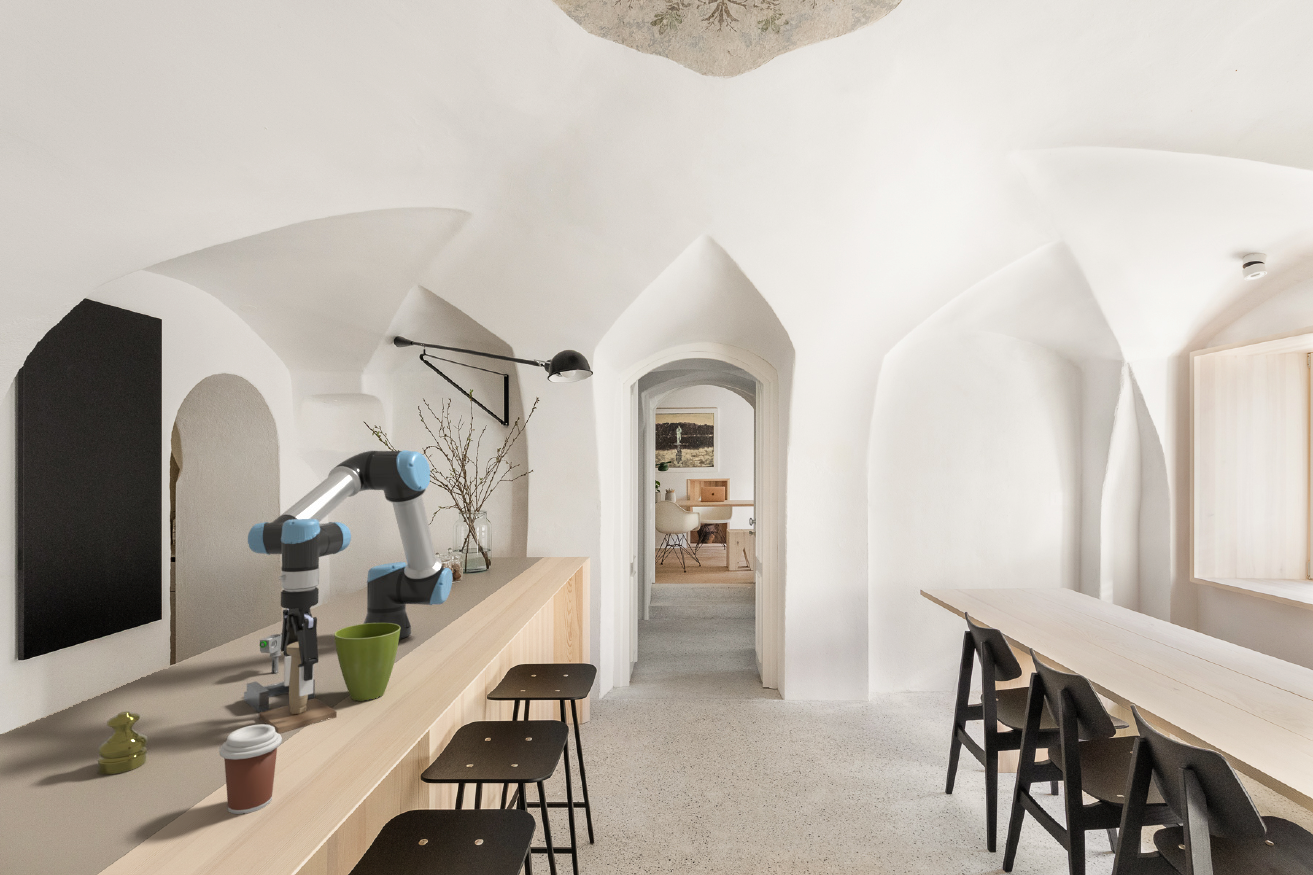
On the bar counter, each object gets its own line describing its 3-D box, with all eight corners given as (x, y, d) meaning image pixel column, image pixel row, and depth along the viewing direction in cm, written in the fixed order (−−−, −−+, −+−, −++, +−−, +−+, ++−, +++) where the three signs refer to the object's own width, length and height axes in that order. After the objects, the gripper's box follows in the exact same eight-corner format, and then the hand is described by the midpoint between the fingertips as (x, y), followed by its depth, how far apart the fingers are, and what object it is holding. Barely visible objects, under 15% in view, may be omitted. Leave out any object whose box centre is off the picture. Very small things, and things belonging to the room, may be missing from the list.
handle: (280, 718, 145) (282, 649, 145) (292, 707, 151) (293, 641, 152) (304, 717, 146) (305, 648, 146) (314, 706, 152) (316, 640, 152)
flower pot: (319, 700, 159) (320, 633, 159) (371, 681, 172) (372, 619, 172) (361, 711, 152) (362, 641, 152) (412, 691, 165) (413, 626, 166)
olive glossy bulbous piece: (141, 753, 131) (142, 702, 131) (152, 764, 126) (153, 711, 126) (93, 767, 125) (94, 713, 125) (102, 779, 120) (103, 724, 121)
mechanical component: (292, 666, 184) (292, 630, 184) (267, 679, 173) (267, 640, 174) (282, 666, 184) (282, 630, 184) (256, 678, 174) (257, 640, 174)
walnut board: (315, 703, 157) (315, 698, 157) (336, 717, 149) (336, 711, 149) (259, 718, 148) (259, 712, 148) (278, 733, 140) (278, 727, 140)
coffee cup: (291, 789, 117) (292, 721, 117) (262, 818, 108) (263, 743, 108) (238, 790, 117) (240, 721, 117) (205, 818, 107) (206, 744, 108)
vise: (294, 685, 169) (294, 667, 169) (314, 698, 160) (314, 679, 160) (241, 698, 160) (241, 679, 160) (259, 712, 151) (259, 692, 151)
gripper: (265, 584, 154) (263, 682, 153) (299, 597, 139) (298, 706, 139) (300, 579, 159) (298, 674, 159) (336, 592, 145) (335, 696, 144)
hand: (298, 689), depth 149 cm, fingers open, 8 cm apart
